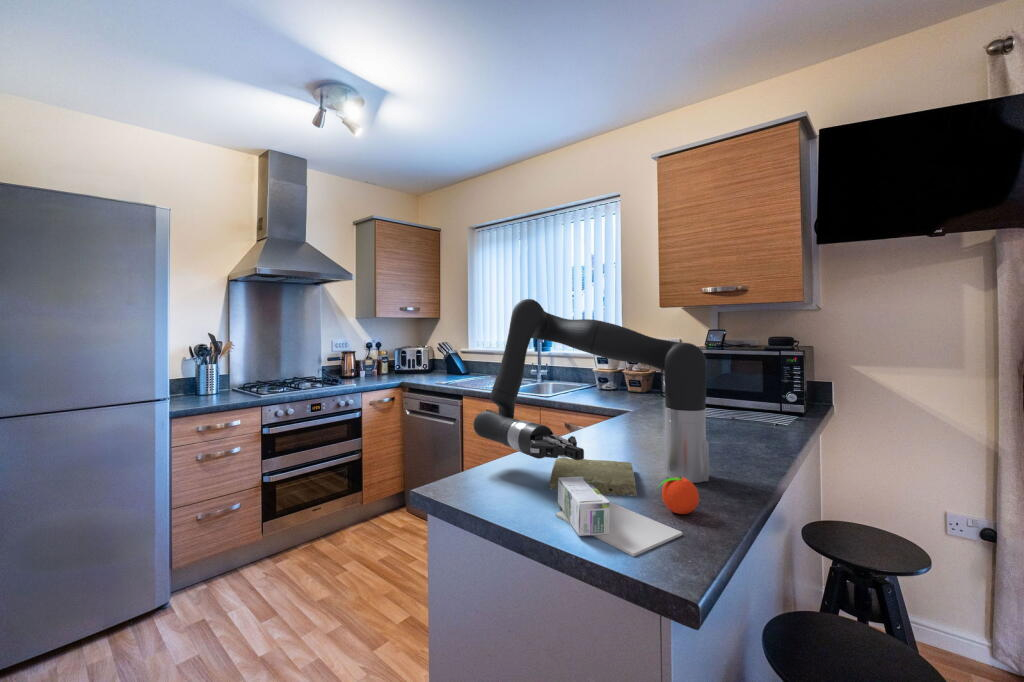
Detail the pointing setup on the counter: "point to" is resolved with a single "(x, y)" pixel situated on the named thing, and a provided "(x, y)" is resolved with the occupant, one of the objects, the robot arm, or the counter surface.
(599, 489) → the decorative tile
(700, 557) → the counter surface
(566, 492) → the syrup box
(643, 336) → the robot arm
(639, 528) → the white rectangular slab
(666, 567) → the counter surface
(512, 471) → the counter surface
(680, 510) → the clementine
